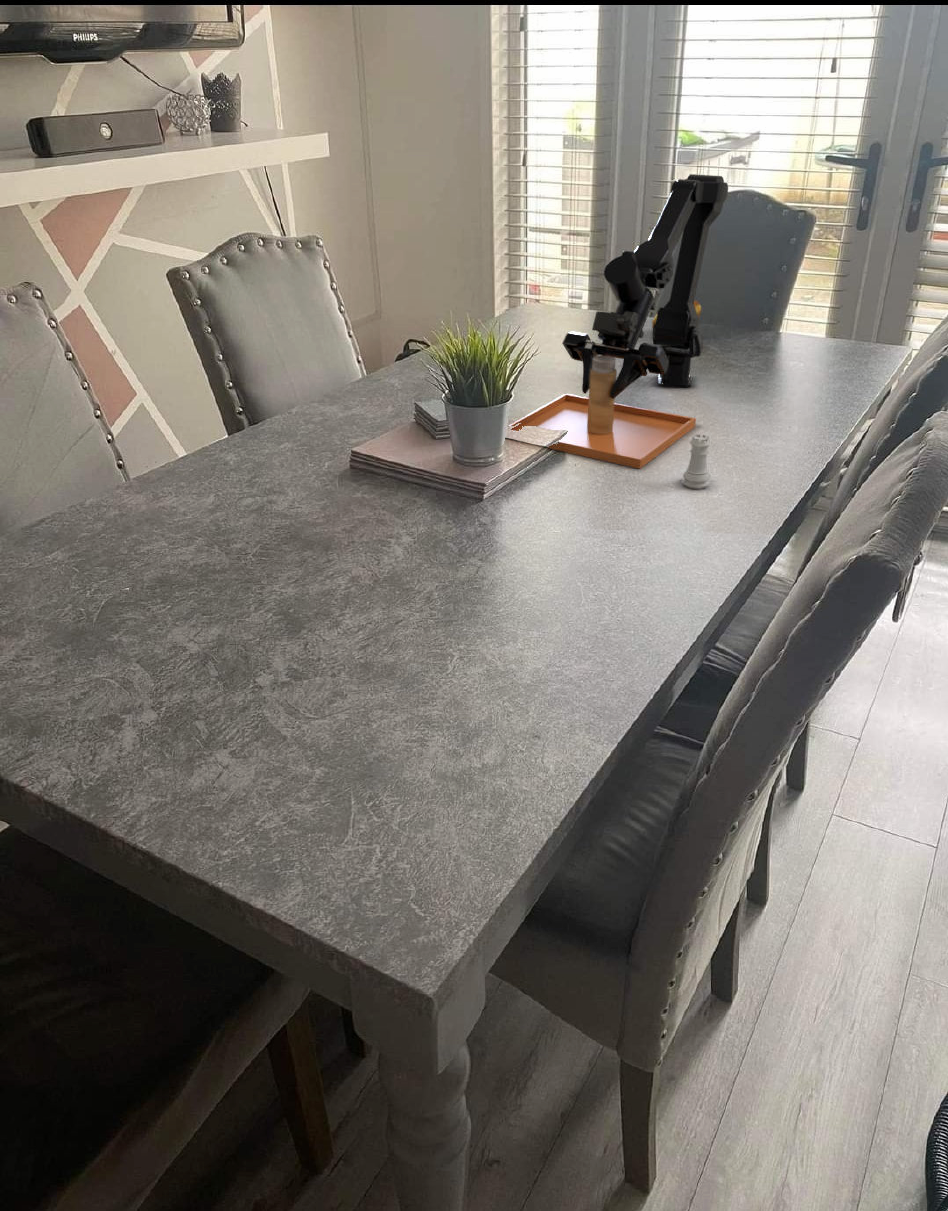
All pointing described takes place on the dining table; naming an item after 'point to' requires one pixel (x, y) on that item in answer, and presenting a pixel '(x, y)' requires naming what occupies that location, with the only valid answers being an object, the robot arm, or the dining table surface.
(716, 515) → the dining table surface
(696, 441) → the rook chess piece
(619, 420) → the tray
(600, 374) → the disc
